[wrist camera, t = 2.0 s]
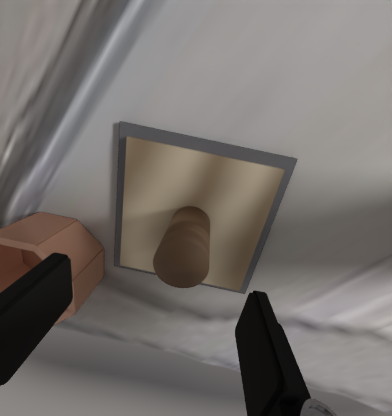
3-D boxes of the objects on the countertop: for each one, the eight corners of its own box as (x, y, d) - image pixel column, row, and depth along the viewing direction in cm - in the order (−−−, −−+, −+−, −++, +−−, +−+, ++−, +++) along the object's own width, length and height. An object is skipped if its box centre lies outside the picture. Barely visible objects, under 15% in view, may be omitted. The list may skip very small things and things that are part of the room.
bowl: (104, 225, 20) (71, 252, 15) (103, 294, 23) (76, 334, 19) (12, 205, 20) (-49, 227, 15) (26, 278, 23) (-20, 313, 19)
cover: (281, 168, 16) (328, 190, 9) (238, 285, 20) (250, 352, 14) (130, 136, 16) (76, 136, 9) (123, 260, 20) (83, 315, 14)
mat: (294, 158, 16) (297, 159, 15) (244, 289, 21) (244, 294, 21) (123, 121, 16) (119, 121, 15) (116, 262, 21) (113, 265, 21)
